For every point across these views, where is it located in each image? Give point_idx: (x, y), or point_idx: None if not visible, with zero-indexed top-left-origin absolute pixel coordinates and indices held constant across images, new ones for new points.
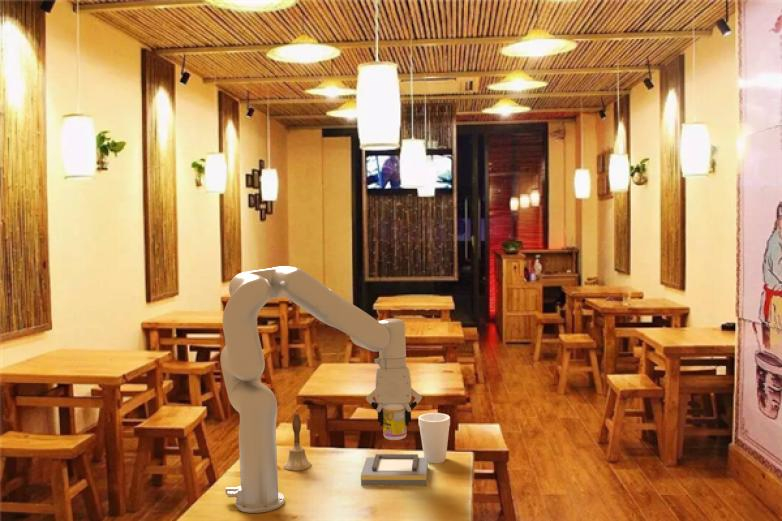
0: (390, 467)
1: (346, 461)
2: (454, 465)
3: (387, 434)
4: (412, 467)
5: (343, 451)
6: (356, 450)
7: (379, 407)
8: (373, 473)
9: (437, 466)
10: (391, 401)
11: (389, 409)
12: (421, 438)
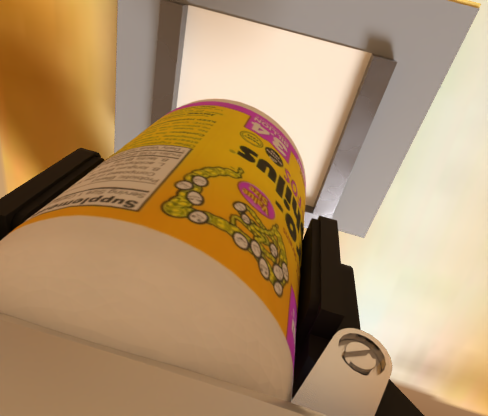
0: (288, 82)
1: (417, 287)
2: (40, 146)
3: (284, 141)
4: (180, 6)
5: (395, 361)
6: None
7: (349, 386)
8: (399, 14)
9: None
10: (91, 392)
11: (204, 260)
12: None
